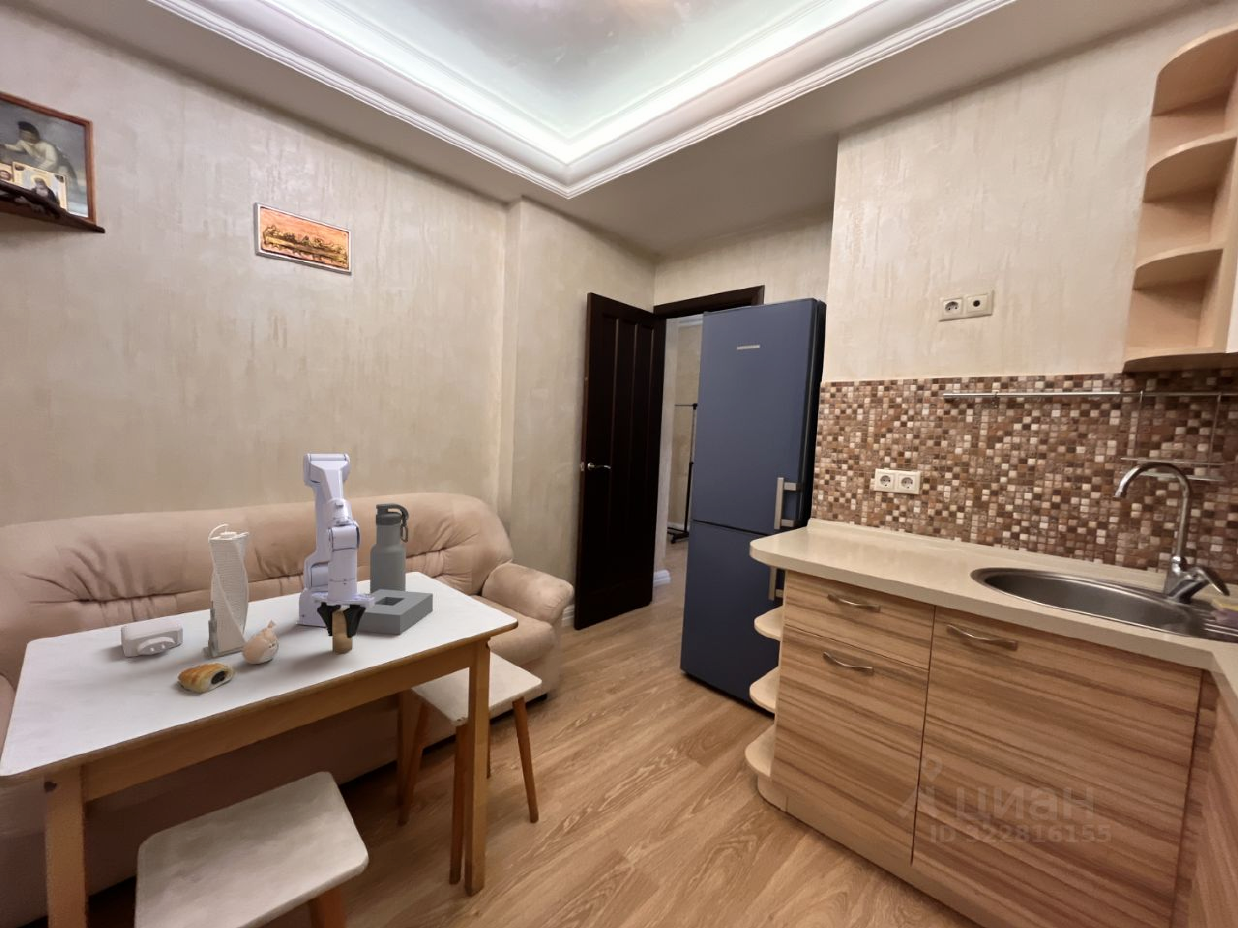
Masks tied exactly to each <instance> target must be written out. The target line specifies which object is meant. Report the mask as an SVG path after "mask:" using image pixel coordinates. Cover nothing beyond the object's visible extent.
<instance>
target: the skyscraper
mask: <svg viewBox="0 0 1238 928" xmlns="http://www.w3.org/2000/svg"><path fill="white" fill-rule="evenodd" d="M223 527H225V528H224V532H221V533H220V534H219V536H215V537H212V536H213V534H214V532H215V531H217V530H218V529H220V528H223ZM228 529H229V524H227V523H224V524H219V525H218V526H216V527H215V528H213V529H212V530H211V532H210V533H209V535H208V537H207V540H206V541H207V545H208V548H209V553H210V558H211V562H212V565H213V566H212V567H213V569H212V574H211V579H210V581H211V582H210V608H209V615H210V617H209V618H210V619H209V620H207V622H208V623H207V626H208V640H207V646H203V647H202V650H203V652H204V654H205V656H206V658H207V660H208V661H211V660H214V659H215V660H216V659H218V658H219V659H220V658H223V657H227V656H231V655H234V654H235V655H236V654H239V653H242V650H243V647H244V645H245V644H246V643H247V642H246V640H245V638H244V634H245V630H246V629H245V628H246V624H247V619H248V611H249V610H248V609H249V602H250V601H249V600H250V598H249V597H250V590H249V589H250V588H249V580H248V573H247V570H246V567H245V563H244V561H245V557H246V554H247V553H246V552H247V549H248V544H249V539H250V532H248V531H245V532H242V533H239V534H237V532H236V531H228Z"/></svg>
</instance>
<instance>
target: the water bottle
mask: <svg viewBox="0 0 1238 928" xmlns="http://www.w3.org/2000/svg"><path fill="white" fill-rule="evenodd" d="M375 508H376V510H377V511H376V514H375V526H376V537H375V538H376V539H375V540H376V544H374V545H373V546H372V547H370V553H369V555H370V556H369V560H370V561H369V564H370V565H369V567H370V569H369V572H370V573H369V579H370V580H369V595H370V594H372V593H374V592H375V591H377V590H379V589H385V590H396V591H407V590H406V582H407V581H406V579H407V578H406V575H407V574H406V570H407V569H406V568H407V567H406V566H407V547H406V545H405V544H404V543H408V542H409V527H408V524H407V521H408V520H409V518H410V515H409V514H410V513H409V511H408V509H406V508H405V507H404V506H403V505H400V504H398V503H379V504H376V505H375ZM389 510H399V511H400V512H401V513H400V512H399V511H389ZM404 529H405V537H404ZM401 541H403V542H404V543H402V542H401Z"/></svg>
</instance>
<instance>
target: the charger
mask: <svg viewBox="0 0 1238 928" xmlns="http://www.w3.org/2000/svg"><path fill="white" fill-rule="evenodd" d="M183 631H184V630H183V627H182V625H181V624H180V622H179V620H178V618H177V616H175V615H168V616H162V617H157V618H151V619H147V620H142V621H136V622H131V623H128V624H125V625H124V626H122V627H121V628H120V640H121V641H120V642H121V646H122V650H123V655H124V656H125V657H126V658H133V657H137V656H143V655H154V654H158V653H162V652H165V651H167V650H169V649H173V648H175V647H179V646H180V645H183V642H184V636H183V635H184V633H183Z"/></svg>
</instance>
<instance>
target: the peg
mask: <svg viewBox="0 0 1238 928" xmlns="http://www.w3.org/2000/svg"><path fill="white" fill-rule="evenodd" d="M343 610H345V609H339V610H336V611H334V612H333V613H332V640H331V641H332V643H331V644H332V647H331V649H332V650H331V651H332V653H333V654H335V655H342V654H343V655H344V654H346V653H349V652H351V651H352V650H353V643H354V642H353V637H354V636H353V637H352V638H347V626H346V620H345V616H344V614H343Z"/></svg>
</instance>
